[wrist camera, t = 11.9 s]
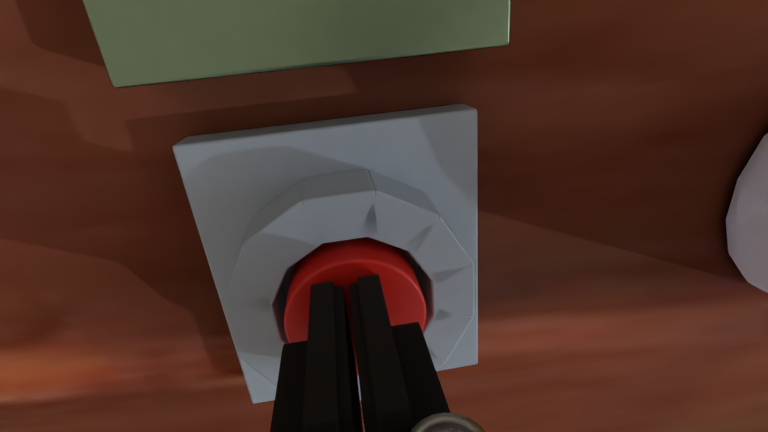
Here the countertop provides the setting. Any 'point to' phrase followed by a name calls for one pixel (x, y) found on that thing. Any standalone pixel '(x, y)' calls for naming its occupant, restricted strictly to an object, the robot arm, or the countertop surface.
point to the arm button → (343, 269)
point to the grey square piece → (338, 218)
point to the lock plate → (281, 34)
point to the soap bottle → (751, 219)
